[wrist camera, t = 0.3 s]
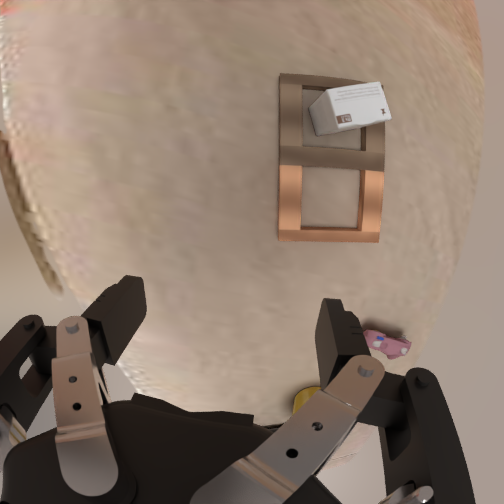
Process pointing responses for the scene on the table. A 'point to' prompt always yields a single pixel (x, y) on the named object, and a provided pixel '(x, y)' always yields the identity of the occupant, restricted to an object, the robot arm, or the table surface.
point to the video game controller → (387, 343)
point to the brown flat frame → (298, 156)
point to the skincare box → (349, 108)
